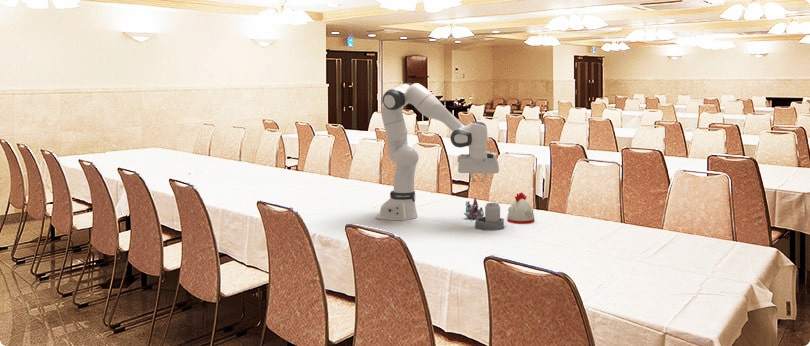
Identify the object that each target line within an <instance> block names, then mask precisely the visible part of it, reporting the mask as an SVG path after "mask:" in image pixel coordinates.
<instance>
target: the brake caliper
mask: <svg viewBox="0 0 810 346" xmlns="http://www.w3.org/2000/svg"><path fill="white" fill-rule="evenodd" d="M470 203H471V202H470V201H469V200H468V201H465V203H464V204H465V206H466V207H465V212H464V213H463V214H464V215H465V216H466V218H468V219H469V220H476V218H480V217H485V211H484V209H483V207H482V206H481V207H480V208H479V204H478V201H477V198H476V197H473V201H472V203H471V204H470Z"/></svg>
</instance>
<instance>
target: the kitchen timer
mask: <svg viewBox="0 0 810 346" xmlns="http://www.w3.org/2000/svg"><path fill="white" fill-rule="evenodd" d="M514 198H515V201H513V203H511V205H510V206H509V207H508V210H507V212H508V213H507V218H506V220H507V221H506V222H508V223H509V224H516V225H527V224H528V225H529V224H532V223H534V222H535V214H534V209H533V207H532V206H531V204H530V202H528V201H527V198H528V197H527V195H525V193H524V192H519V193H516V196H514Z"/></svg>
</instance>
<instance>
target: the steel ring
mask: <svg viewBox="0 0 810 346" xmlns="http://www.w3.org/2000/svg"><path fill="white" fill-rule="evenodd" d="M504 220H505V219H504V218H502V217H500V221H499V222H485V216H483V217H480V218H476V219H475V223H474V224H475V226H474V227H475V229H478V230H483V231H498V230H502V229H504V228H505V227H504V225H505V221H504Z"/></svg>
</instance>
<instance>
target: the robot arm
mask: <svg viewBox="0 0 810 346" xmlns="http://www.w3.org/2000/svg"><path fill="white" fill-rule="evenodd" d="M407 105H412V106H414V108H415V109H416V110H417V112H419V113H420V114H422V115H423V116H424V117H426V118H427V119H432V120H435V121H440V122H441V123H443V124H444V125H445V126H446V127H448V128H449V130H450V131H451V134H450V142H451V144H452V145H453V146H454V147H455V148H460V149H461V148H465V147H469V154H468V153H467V154H466V153H464V154H460V155H458V156H457V163H458V167H457V172H458V173H460V174H469V176H470V179H471V183H475V182H476V177H474V176H473V175H474V174H483V178H481V183H485V179H486V177H487V176H488V174H499V172H500V166H499V161H498V159H497V153H496V152H493V151H489V150H488V137H489V135H488V128H487V124H486V123H484V122H483V121H471V122H470V123H468V124H465V123H464V122H462V121H460V119H459V118H457V117H456V116H455V115H454V114H453V113H452V112H451V111H450V110H448V109H447V108H446V106H445V105H443V103H442V102H441V101H440V100H439V99H438V98H437V97H436V96H435V95H434V94H433V93H432V92H431V91H430V90H429V89H428V88H426V87H425V86H424V85H422V84H421V83H417V82H414V83H411V82H402V83H401V84H398V85H395V86H393V87H392V88H391V89H388V90H387V91H386V92H384V93H383V96H382V104H381V106H380V114H381V120H382V124H383V126H384V130H385V134H386V138H387V139H386V140H387V145H388V157H389V159H390V161H391V162H392V163H394V164H395V165H396V166H395V173H394V175H393V190H391V191H390V193H389V196H390V197H389V199H387V200H386V201H385V202H383V203H382V205H381V206H380V210H379V213H377V214H376V215H375V219H377V220H386V221H388V220H389V221H407V220H413V219H416V218H418V217H419V216H418V212H417V208H416V203H415V202H416V191H415V172H416V168H417V164H418V162H419V159H420V158H419V156H420V155H419V153H418V152H417V150H415V149H414V148H413V147H411V146H409V144H408V129H407V126H406V122H405V118H404V114H403V111H402V110H403V107H405V106H407Z"/></svg>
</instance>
